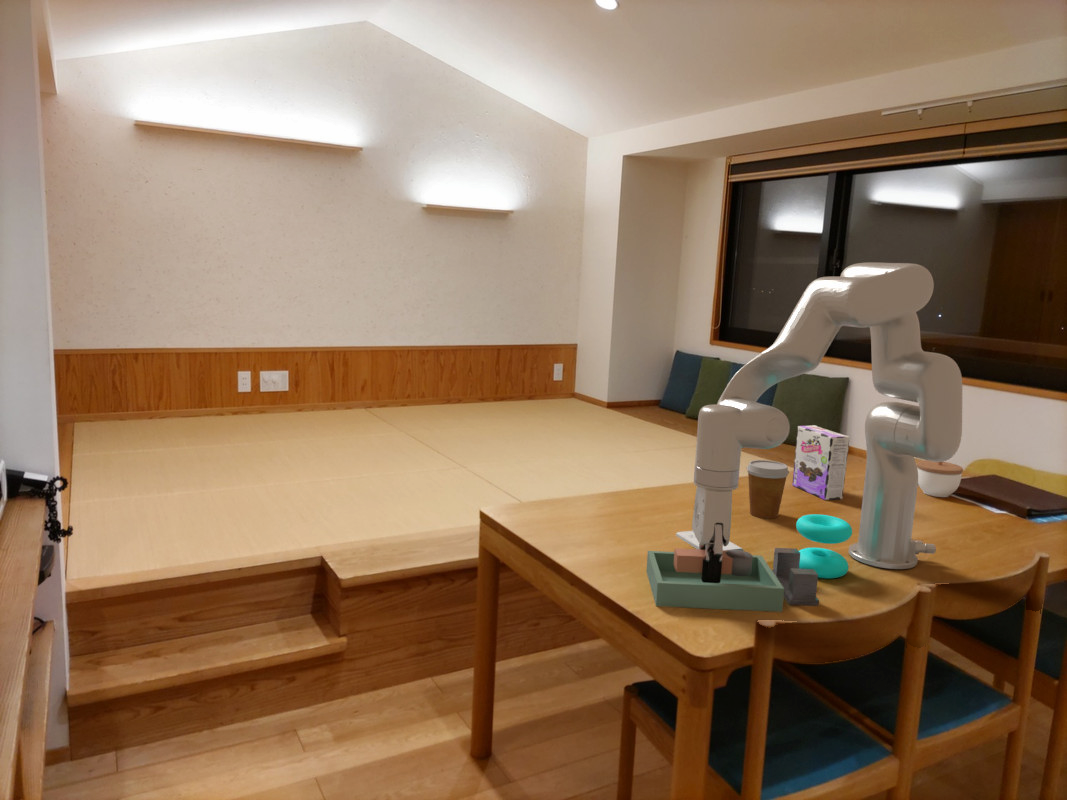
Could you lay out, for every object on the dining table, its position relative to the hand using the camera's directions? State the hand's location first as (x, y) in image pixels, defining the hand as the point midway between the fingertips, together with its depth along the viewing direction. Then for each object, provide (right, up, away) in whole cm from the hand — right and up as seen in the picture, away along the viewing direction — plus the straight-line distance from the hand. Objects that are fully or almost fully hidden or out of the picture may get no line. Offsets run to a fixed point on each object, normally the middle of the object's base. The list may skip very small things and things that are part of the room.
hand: (708, 576), depth 138 cm
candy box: (+43, +7, +65) cm, 78 cm away
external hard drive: (+5, +1, +24) cm, 24 cm away
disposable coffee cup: (+23, +4, +45) cm, 51 cm away
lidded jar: (+75, +6, +67) cm, 101 cm away
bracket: (+15, -3, +2) cm, 16 cm away
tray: (0, -3, 0) cm, 3 cm away
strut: (0, +1, 0) cm, 1 cm away
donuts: (+24, -2, +12) cm, 27 cm away
